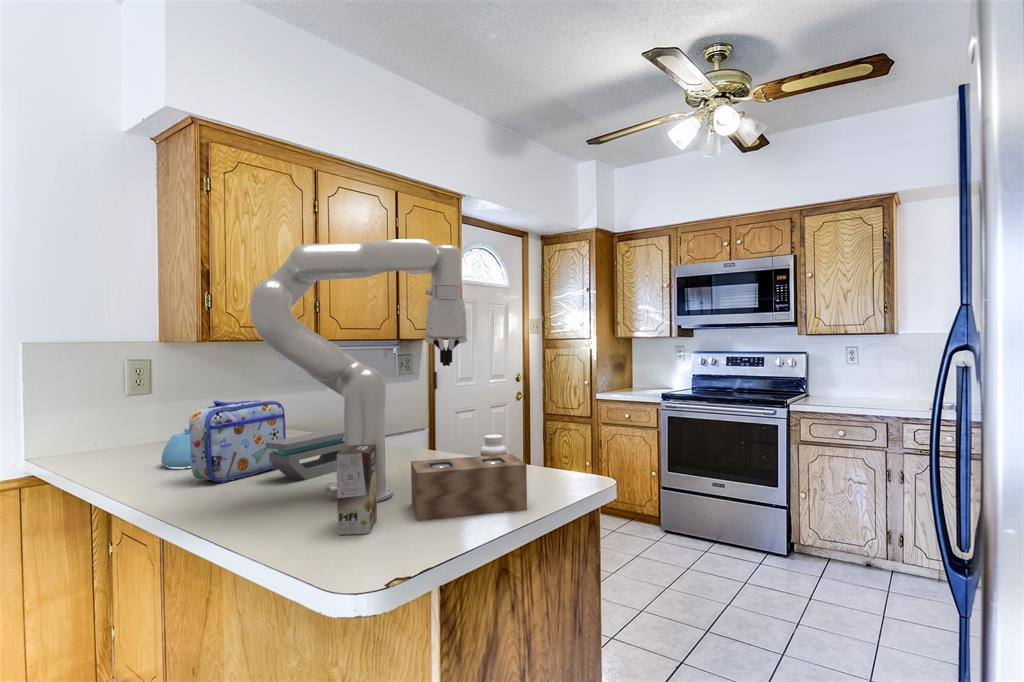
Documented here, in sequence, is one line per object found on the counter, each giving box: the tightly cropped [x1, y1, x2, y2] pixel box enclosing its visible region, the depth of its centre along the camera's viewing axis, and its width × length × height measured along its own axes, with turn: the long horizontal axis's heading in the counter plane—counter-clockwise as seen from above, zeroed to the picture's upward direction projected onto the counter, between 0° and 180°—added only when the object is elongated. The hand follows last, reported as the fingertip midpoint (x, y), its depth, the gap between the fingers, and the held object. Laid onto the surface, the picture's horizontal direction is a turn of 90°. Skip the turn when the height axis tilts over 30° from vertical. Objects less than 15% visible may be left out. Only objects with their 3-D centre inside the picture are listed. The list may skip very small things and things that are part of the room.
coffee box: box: [336, 444, 378, 536], centre depth 114 cm, size 9×6×16 cm
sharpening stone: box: [266, 428, 344, 481], centre depth 161 cm, size 25×8×11 cm, turn 152°
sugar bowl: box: [161, 427, 191, 467], centre depth 175 cm, size 15×15×12 cm
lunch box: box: [188, 400, 287, 483], centre depth 160 cm, size 28×10×22 cm, turn 154°
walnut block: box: [410, 453, 528, 522], centre depth 126 cm, size 24×12×10 cm, turn 106°
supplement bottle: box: [480, 434, 507, 456], centre depth 145 cm, size 7×7×13 cm
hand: (446, 365), depth 144 cm, fingers closed
